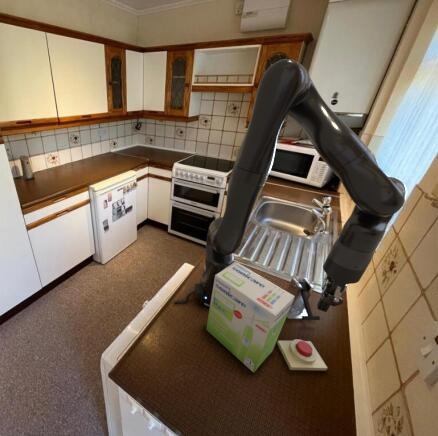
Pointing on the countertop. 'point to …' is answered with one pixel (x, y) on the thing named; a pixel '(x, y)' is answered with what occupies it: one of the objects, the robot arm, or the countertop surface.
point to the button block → (299, 361)
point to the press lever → (306, 303)
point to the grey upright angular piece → (298, 298)
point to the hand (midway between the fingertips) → (321, 308)
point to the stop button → (304, 348)
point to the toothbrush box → (247, 313)
